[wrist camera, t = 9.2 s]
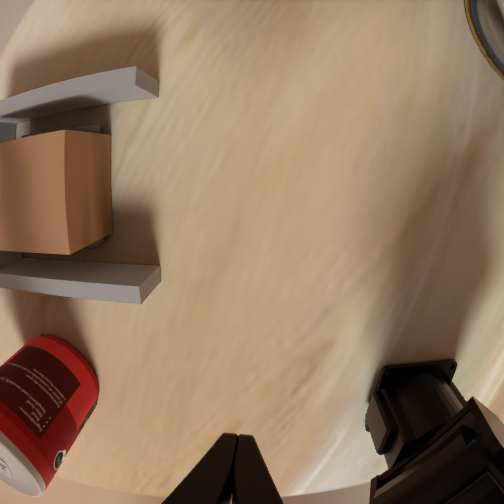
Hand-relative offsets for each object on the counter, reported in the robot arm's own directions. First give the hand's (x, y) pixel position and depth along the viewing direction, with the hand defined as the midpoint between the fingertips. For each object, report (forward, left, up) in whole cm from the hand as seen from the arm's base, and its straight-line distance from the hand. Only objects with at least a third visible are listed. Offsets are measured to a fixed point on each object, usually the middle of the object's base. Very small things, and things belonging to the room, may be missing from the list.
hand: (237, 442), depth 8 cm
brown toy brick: (+12, -6, -12) cm, 18 cm away
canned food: (+16, +9, -12) cm, 22 cm away
